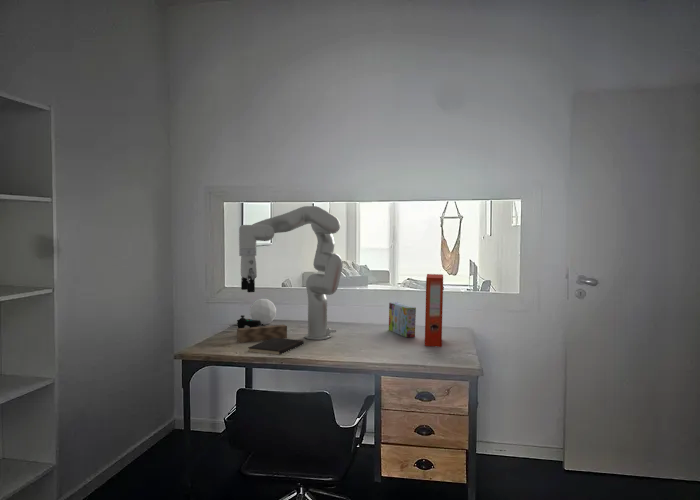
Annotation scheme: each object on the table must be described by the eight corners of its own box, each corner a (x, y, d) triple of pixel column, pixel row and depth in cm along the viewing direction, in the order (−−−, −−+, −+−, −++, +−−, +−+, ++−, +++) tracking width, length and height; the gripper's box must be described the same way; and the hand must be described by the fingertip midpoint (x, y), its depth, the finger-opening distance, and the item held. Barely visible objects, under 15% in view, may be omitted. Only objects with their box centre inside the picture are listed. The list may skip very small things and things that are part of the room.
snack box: (416, 337, 292) (416, 307, 291) (406, 338, 290) (406, 307, 289) (397, 329, 312) (397, 301, 311) (387, 330, 310) (388, 301, 309)
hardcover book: (248, 352, 260) (247, 347, 259) (273, 342, 281) (273, 337, 281) (279, 356, 254) (279, 350, 253) (303, 345, 275) (303, 340, 275)
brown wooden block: (283, 336, 292) (283, 324, 291) (286, 338, 288) (286, 325, 288) (237, 341, 280) (237, 328, 280) (239, 342, 277) (239, 330, 277)
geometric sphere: (269, 333, 323) (277, 314, 316) (243, 324, 321) (251, 305, 313) (274, 317, 335) (282, 298, 328) (249, 308, 333) (256, 289, 325)
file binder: (442, 339, 288) (443, 274, 286) (442, 346, 271) (443, 278, 269) (425, 338, 289) (426, 274, 287) (424, 346, 272) (425, 277, 270)
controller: (239, 334, 297) (239, 314, 296) (262, 335, 294) (262, 315, 293) (235, 335, 292) (235, 316, 292) (258, 337, 289) (258, 317, 289)
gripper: (261, 253, 254) (261, 292, 255) (250, 251, 270) (250, 288, 271) (244, 254, 251) (245, 293, 252) (234, 251, 267) (234, 289, 268)
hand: (247, 290), depth 261 cm, fingers open, 9 cm apart
